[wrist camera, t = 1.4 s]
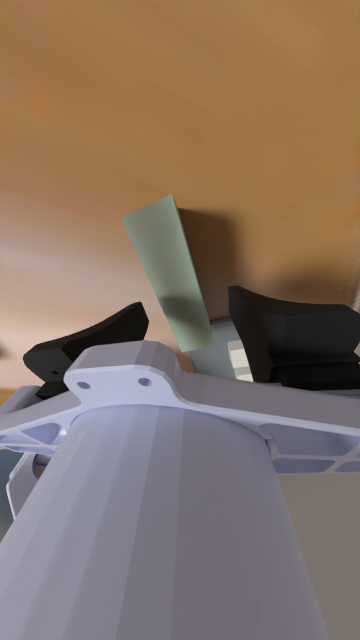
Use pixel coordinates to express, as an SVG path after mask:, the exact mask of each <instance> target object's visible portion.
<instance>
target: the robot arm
mask: <svg viewBox="0 0 360 640" xmlns="http://www.w3.org/2000/svg"><path fill="white" fill-rule="evenodd" d="M228 293H229V311H230V315H231V319H232V321H233V324H234V326H235V328H236V330H237V333H238V335H239V337H240V339H241V342H242V344H243V347H244V350H245V354H246V357H247V360H248V364H249V367H250V371H251V374H252V378H253V382H251V381H245V380H238V379H232V378H225V377H219V376H213V375H206V374H200V373H193V372H187V371H183V370H182V369H181V367H180V366H179V363H178V360H177V357H176V355H175V354H174V352H173V351H172V350H171V348H170V347H168V346H166V345H164V344H162V343H160V342H157V341H146V340H143V339H144V337H145V334H146V332H147V328H148V324H149V320H148V317H147V315H146V313H145V310H144V308H143V305H142V303H141V302H136V303H133V304H131V305H129V306H127V307H125V308H124V309H122V310H120V311H119V312H117V313H116V314H114V315H112V316H111V317H109V318H107V319H105V320H104V321H102V322H100V323H98V324H96V325H94V326H91V327H89V328H87V329H84V330H82V331H79V332H77V333H74V334H71V335H68V336H65V337H62V338H58V339H55V340H51V341H47V342H43V343H40V344H37V345H35V346H34V347H33V348H32V349H30V350H29V351H28V352H27V353H26V354H24V356H23V361H24V363H25V365H26V366H27V367H28V368H29V369H30V370H31V371H32V372H33V373H34V374H36V375H37V376H38V377H39V378H41V379H42V380H43V381H44V382H45V384H44V385H43V386H42V387H40V386H22V387H20V388H19V389H18V390H17V391H16V392H15V393H14V394H13V395H12V396H11V397H10V398H9V399H8V400H7V401H6V402H5V403H4V404H3V405H2V406H1V407H0V446H2V447H4V448H7V449H10V450H12V451H15V452H25V453H24V455H23V456H22V458H21V459H20V461H19V462H18V464H17V465H16V467H15V468H14V469H13V471H12V472H11V474H10V481H9V482H8V483H7V487H6V489H7V495H8V499H9V501H10V506H11V510H12V514H13V517H14V522H13V524H12V525H11V527H10V529H9V530H8V532H7V534H6V535H5V537H4V539H3V540H2V542H1V544H0V640H329V637H328V634H327V631H326V628H325V625H324V622H323V619H322V615H321V612H320V609H319V606H318V603H317V600H316V596H315V594H314V590H313V587H312V584H311V581H310V578H309V575H308V571H307V568H306V565H305V562H304V559H303V556H302V553H301V550H300V546H299V543H298V540H297V537H296V534H295V531H294V528H293V524H292V521H291V518H290V515H289V512H288V509H287V506H286V503H285V500H284V497H283V493H282V490H281V487H280V484H279V481H278V477H277V474H334V473H335V474H339V473H360V364H359V363H358V362H360V357H359V356H358V355H357V354H355V353H354V350H355V348H356V347H357V345H358V344H359V342H360V314H359V313H358V312H356V311H354V310H353V309H351V308H349V307H348V306H346V305H341V304H307V303H296V302H289V301H282V300H277V299H273V298H269V297H265V296H262V295H259V294H256V293H254V292H251V291H249V290H247V289H244V288H242V287H240V286H231V287H228Z"/></svg>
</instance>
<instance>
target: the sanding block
mask: <svg viewBox="0 0 360 640" xmlns="http://www.w3.org/2000/svg"><path fill="white" fill-rule="evenodd" d="M121 218H122V221H123V223H124V225H125V227H126V229H127V232H128V234H129V236H130V238H131V241H132V243H133V245H134V247H135V249H136V252H137V254H138V256H139V258H140V260H141V263H142V265H143V267H144V269H145V272H146V274H147V276H148V278H149V280H150V283H151V285H152V287H153V289H154V291H155V294H156V296H157V298H158V300H159V303H160V305H161V307H162V309H163V311H164V314H165V316H166V318H167V320H168V322H169V325H170V327H171V329H172V331H173V334H174V336H175V338H176V340H177V342H178V345H179V347H180V349H181V351H182V352H186V351H191V350H195V349H200V348H204V347H209V346H213V345H215V342H214V338H213V334H212V330H211V326H210V321H209V317H208V314H207V310H206V307H205V303H204V299H203V296H202V292H201V289H200V285H199V282H198V278H197V275H196V271H195V268H194V264H193V260H192V257H191V253H190V250H189V246H188V243H187V239H186V236H185V232H184V229H183V225H182V221H181V218H180V214H179V211H178V207H177V205H176V203H175V200H174V198H173V195H172V194H171V195H169V196H167V197H164V198H162V199H160V200H158V201H156V202H154V203H151V204H149V205H147V206H145V207H143V208H141V209H139V210H136V211H134V212H132V213H130V214H128V215H126V216H124V217H121Z"/></svg>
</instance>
